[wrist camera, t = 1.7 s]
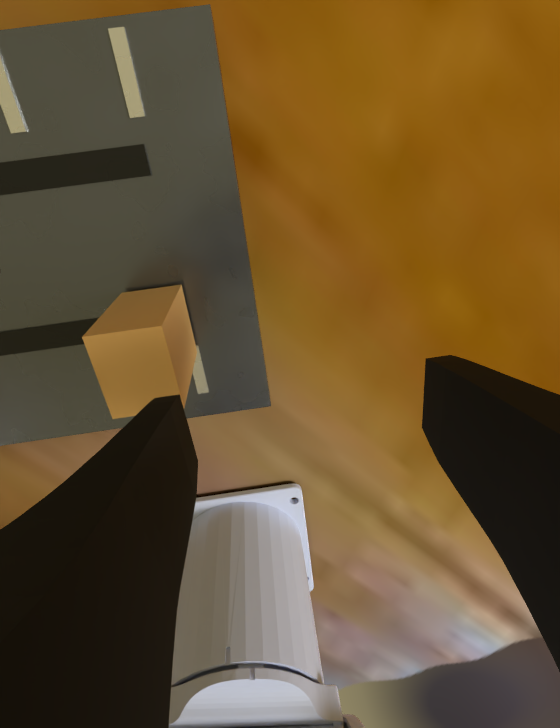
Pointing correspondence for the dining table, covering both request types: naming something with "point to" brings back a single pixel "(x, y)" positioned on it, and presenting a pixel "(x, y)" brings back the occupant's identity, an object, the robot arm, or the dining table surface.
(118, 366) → the block
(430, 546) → the dining table surface
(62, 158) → the console
